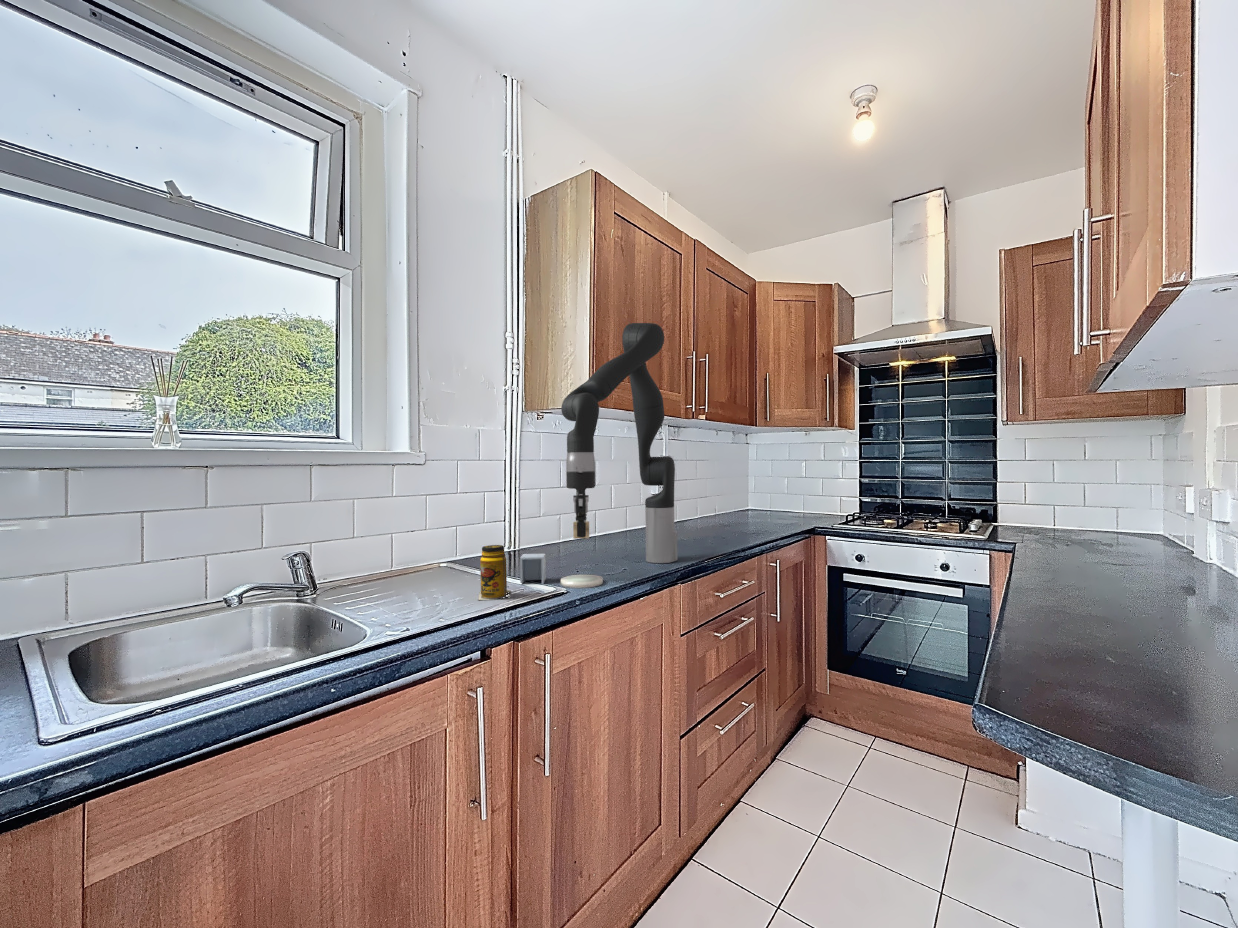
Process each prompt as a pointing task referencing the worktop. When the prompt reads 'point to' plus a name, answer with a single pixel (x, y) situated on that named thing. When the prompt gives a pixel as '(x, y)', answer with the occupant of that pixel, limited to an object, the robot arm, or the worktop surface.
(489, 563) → the condiment
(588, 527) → the block
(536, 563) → the cover
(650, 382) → the robot arm
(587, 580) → the dish
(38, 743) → the worktop surface
